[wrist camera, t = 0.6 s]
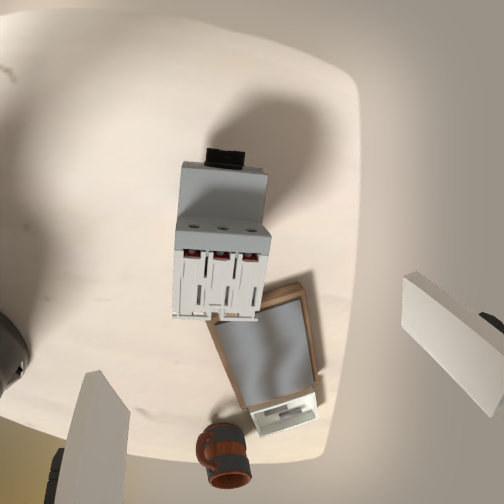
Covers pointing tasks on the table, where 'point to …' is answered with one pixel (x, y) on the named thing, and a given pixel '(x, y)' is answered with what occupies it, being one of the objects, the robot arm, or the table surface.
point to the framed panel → (268, 348)
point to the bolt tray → (285, 412)
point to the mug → (224, 456)
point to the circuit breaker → (220, 239)
